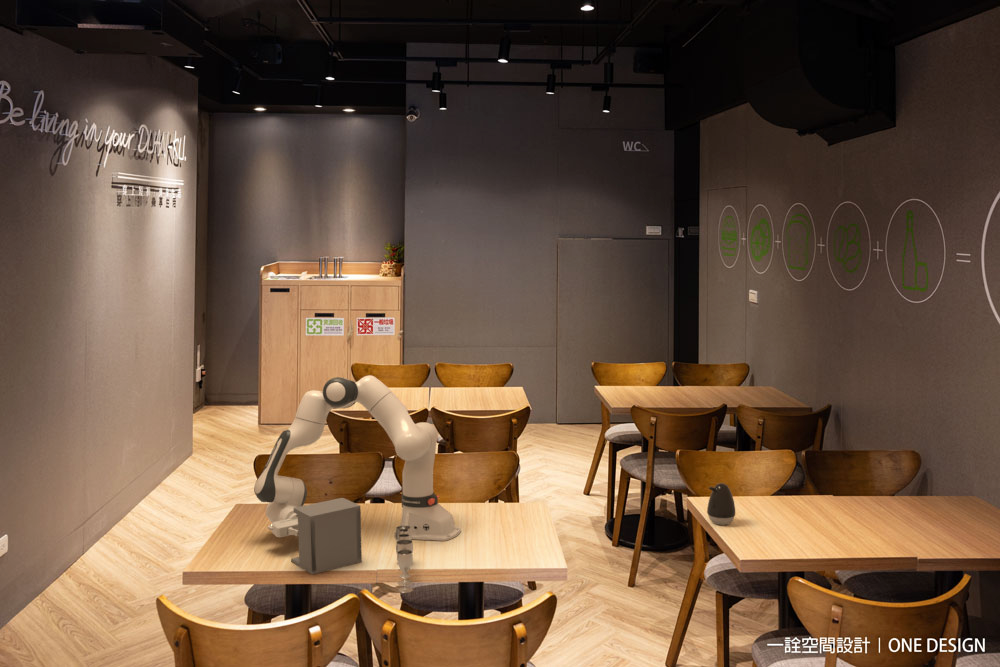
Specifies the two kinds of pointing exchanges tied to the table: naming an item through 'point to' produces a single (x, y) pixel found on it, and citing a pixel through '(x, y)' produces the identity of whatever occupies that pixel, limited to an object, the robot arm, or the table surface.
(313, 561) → the overhang dock
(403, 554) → the goblet set
